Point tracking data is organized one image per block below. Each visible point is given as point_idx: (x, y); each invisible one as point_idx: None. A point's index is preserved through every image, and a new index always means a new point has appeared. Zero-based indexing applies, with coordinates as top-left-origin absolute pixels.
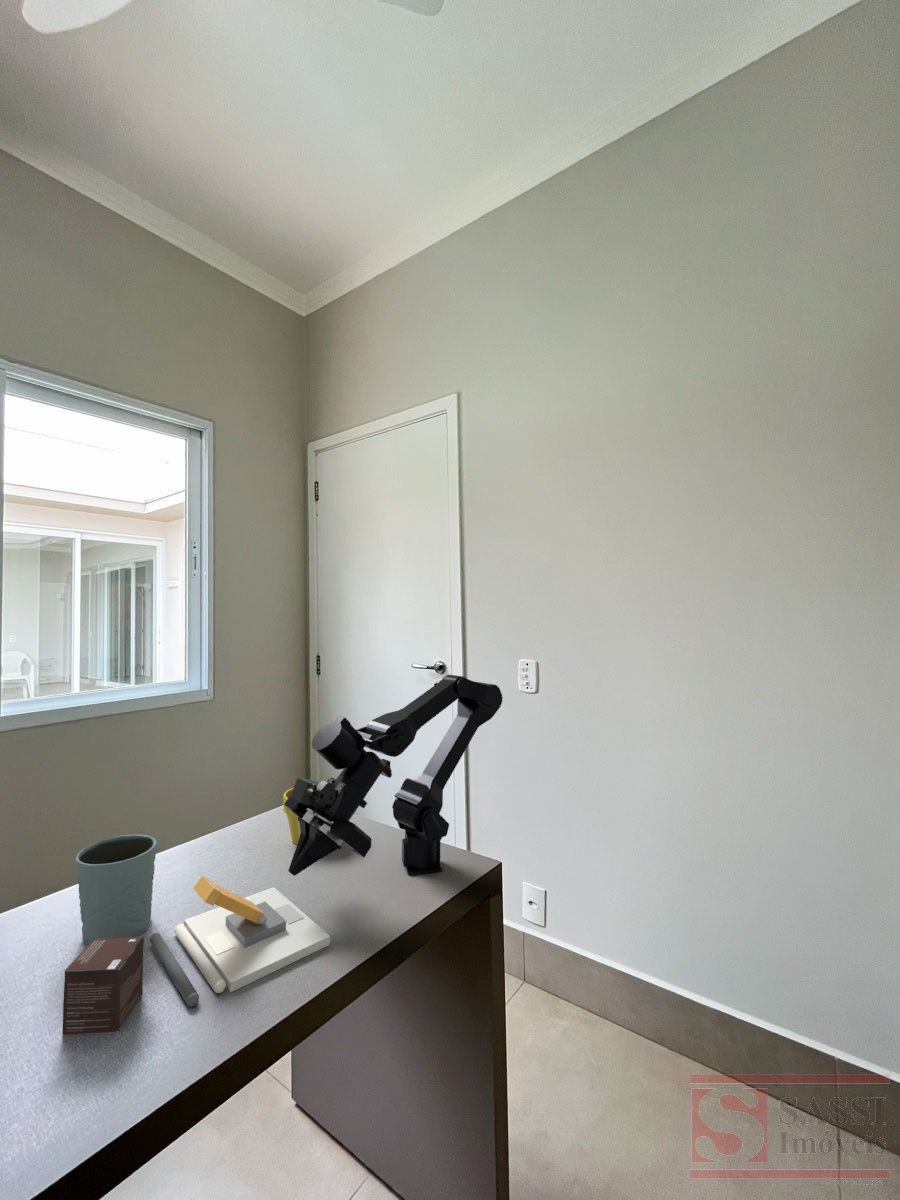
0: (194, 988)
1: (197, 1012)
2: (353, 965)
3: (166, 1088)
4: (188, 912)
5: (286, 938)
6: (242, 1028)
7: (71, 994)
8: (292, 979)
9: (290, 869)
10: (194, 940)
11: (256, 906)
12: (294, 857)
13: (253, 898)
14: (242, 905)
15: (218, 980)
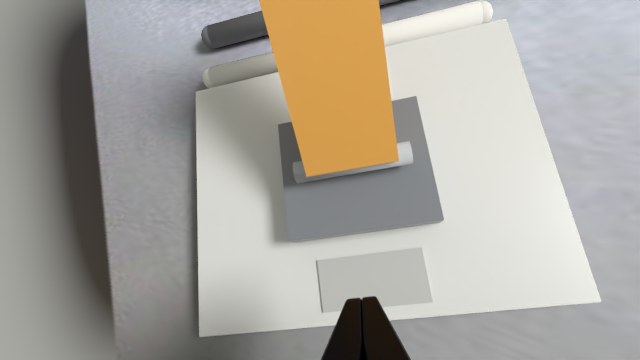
0: (223, 35)
1: (197, 50)
2: (117, 341)
3: (101, 14)
4: (587, 45)
5: (260, 231)
6: (121, 105)
7: None
8: (165, 208)
9: (363, 306)
10: (384, 37)
11: (362, 162)
12: (384, 358)
13: (541, 210)
14: (282, 81)
15: (209, 70)
